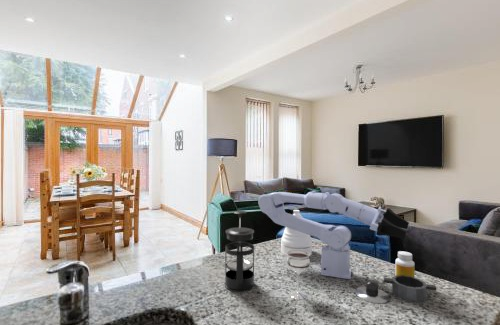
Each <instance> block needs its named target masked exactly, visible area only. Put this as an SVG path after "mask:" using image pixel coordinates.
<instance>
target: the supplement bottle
mask: <svg viewBox="0 0 500 325" xmlns="http://www.w3.org/2000/svg"><path fill="white" fill-rule="evenodd" d="M394 262H395V263H394V266H395V267H394V276H395V275H405V276H411V277H415V269H416V268H415V261H413V254H412V253H411V252H408V251H401V250H399V251H397V258H396V259H395V261H394Z"/></svg>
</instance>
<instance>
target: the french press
mask: <svg viewBox="0 0 500 325" xmlns="http://www.w3.org/2000/svg"><path fill="white" fill-rule="evenodd" d="M233 214H235V215H237V216H238V218H239V221H238V222H239V223H238V224H239V225H238V227H230V228H228V229H226V230H225V234H226V239H227V240H229V241H231V242H230V243H228V244H226V245H225V246H224V247H225V255H224V256H225V257H224V258H225V260H224V261H225V263H224V264H225V272H224V273H225V275H224V276H225V277H224V278H225V280H224V287H225V288H226V290H228V291H231V292H236V293H237V292H238V293H245V292H247V291H250V290H252V289H253V288H254V287H255V245H254V244H252V243H249V241H251V240H253V238H254V234H255V230H254V229H252V228H249V227H241V222H242V221H241V218H242V215H246V214H247V211H244V210H236V211H233ZM235 247H236V250H232V249H230V248H235ZM243 247H246V248H250V249H248V250H243ZM227 254H228V255H231V256H236V259H232V260H229V261H228V262H227ZM249 255H252V261H251V260H247V259H244V256H249ZM227 269H228V270H227Z"/></svg>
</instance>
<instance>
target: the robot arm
mask: <svg viewBox="0 0 500 325" xmlns="http://www.w3.org/2000/svg"><path fill="white" fill-rule="evenodd" d="M257 200H258V202H257V203H258V206H259V209H260V212H262V213H263V214H265V215H266V216H267V217H268V218H270V219H271V220H272V222H273V223H275V224H277V225H279V226H283V227H285V228H286V227H288V228H291V229H294V230H297V231H299V232H302V233H305V234H308V235H310V237H314V238H317V239H318V240H320V242H321V243H322V244H325V245H322V246H321V254H320V258H321V260H320V275H321V276H326V277H334V278H338V279H339V278H340V279H345V280H346V279H347V280H351V279H352V278H351V276H352V269H351V246H350V245H349V242H350V241H351V239H352V232H351V230H350V229H349V228H348V227H347V226H345V225H334V224H323V223H320V222H317V221H314V220H311V219H307V218H304V217H303V216H302V217H303V218H302V217H299V216H295V215H293V213H292V214H291V213H288V212H286V210H285V205H284V203H291V204H292V203H294V204H304V205H305V206H306V207H307V208H309V209H310V208H311V209H317V210H324V211H325V210H328V211H329V213H334V214H335V213H339V214H341V215H344V216H345V217H347V218H350V219H352V220H353V219H354V220H355V221H358V222H360V223H363V224H365V225H368V226H370V227H369V230H371V231H375V232H376V233H375V234H376V236H378V237H384V236H387V237H388V236H389V237H395V238H400V239H405V237H406V234H407V231H406V230H407V229H408V227H409V224H410V222H409V221H408V220H406V219H404V218H402V217H401V216H399V215H398V214H396V213H395V212H394V211H393V210H392V209H391V208H390V207H389V208H388V207H387V208H386V209H382V206H378V208H374V207H372V206H369V205H366V204H364V203H361V202H359V201H356V200H353V199H349V198H347V197H344V196H343V195H342V194H340V193H337V192H334V193H331V194H330V192H327V191H326V192H325V193H324V192H317V190H312V191H309V192H307V193H306V194H301V193H294V192H293V193H292V192H288V191H287V192H286V191H278V192H277V191H274V192H270V193H264V194H261V195H260V196H259V198H258V199H257Z"/></svg>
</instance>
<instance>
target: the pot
mask: <svg viewBox="0 0 500 325" xmlns="http://www.w3.org/2000/svg"><path fill="white" fill-rule="evenodd" d="M383 283H384V284H390V285H391V293H392V295H393V296H394V297H396V298H397V299H398V300H399V299H400V300H401V301H404V302H407V303H411V304H412V303H413V304H423V303H425V302H426V301H428V299H427V298H428V290H429V291H434V292H437V286H436V285H435V284H427V283H426V282H425V281H423V280H422V279H420V278H418V277H415V276H414V277H411V276H405V275H395V274H394V276H392V277H391V278H388V277H383Z"/></svg>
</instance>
